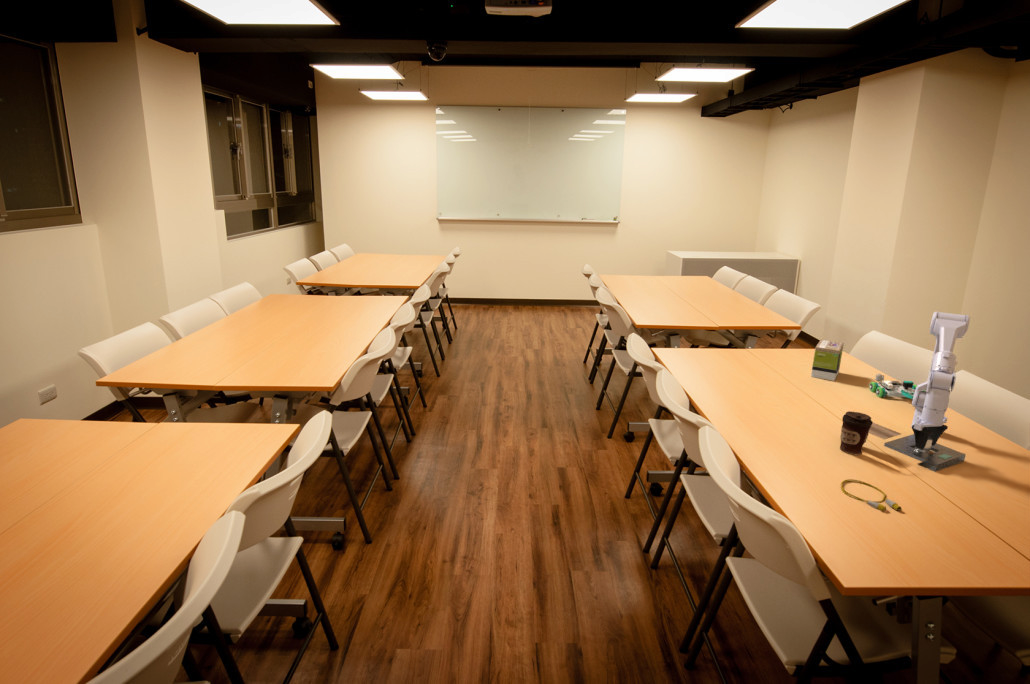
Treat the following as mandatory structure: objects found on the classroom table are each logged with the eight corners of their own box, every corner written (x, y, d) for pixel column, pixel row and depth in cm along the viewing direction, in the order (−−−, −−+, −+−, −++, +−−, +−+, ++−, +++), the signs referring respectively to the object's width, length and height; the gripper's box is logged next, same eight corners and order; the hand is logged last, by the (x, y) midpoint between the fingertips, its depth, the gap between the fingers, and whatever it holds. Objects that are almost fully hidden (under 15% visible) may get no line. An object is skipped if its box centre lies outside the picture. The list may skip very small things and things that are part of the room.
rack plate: (911, 440, 192) (913, 433, 191) (963, 461, 178) (965, 454, 178) (883, 449, 185) (884, 442, 185) (935, 471, 172) (937, 464, 171)
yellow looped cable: (854, 510, 152) (855, 504, 151) (833, 480, 167) (834, 474, 166) (903, 515, 150) (904, 509, 149) (877, 485, 164) (879, 479, 164)
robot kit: (892, 410, 219) (897, 387, 216) (864, 387, 243) (868, 367, 240) (943, 413, 216) (949, 391, 214) (910, 390, 240) (915, 370, 237)
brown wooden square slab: (872, 426, 203) (873, 422, 202) (900, 437, 194) (901, 433, 194) (855, 431, 199) (855, 427, 198) (883, 443, 190) (884, 439, 190)
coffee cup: (854, 459, 179) (862, 422, 175) (830, 448, 186) (837, 412, 182) (870, 453, 182) (878, 417, 179) (846, 443, 190) (853, 408, 186)
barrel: (918, 451, 185) (922, 434, 183) (931, 456, 181) (935, 439, 180) (911, 453, 183) (914, 436, 181) (924, 458, 180) (927, 441, 178)
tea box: (815, 368, 265) (820, 338, 261) (839, 372, 260) (844, 342, 256) (810, 376, 254) (815, 346, 250) (834, 381, 248) (840, 350, 244)
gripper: (934, 399, 183) (924, 436, 187) (907, 406, 177) (898, 445, 181) (958, 407, 177) (948, 445, 181) (931, 414, 171) (922, 454, 175)
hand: (925, 446), depth 181 cm, fingers open, 6 cm apart
